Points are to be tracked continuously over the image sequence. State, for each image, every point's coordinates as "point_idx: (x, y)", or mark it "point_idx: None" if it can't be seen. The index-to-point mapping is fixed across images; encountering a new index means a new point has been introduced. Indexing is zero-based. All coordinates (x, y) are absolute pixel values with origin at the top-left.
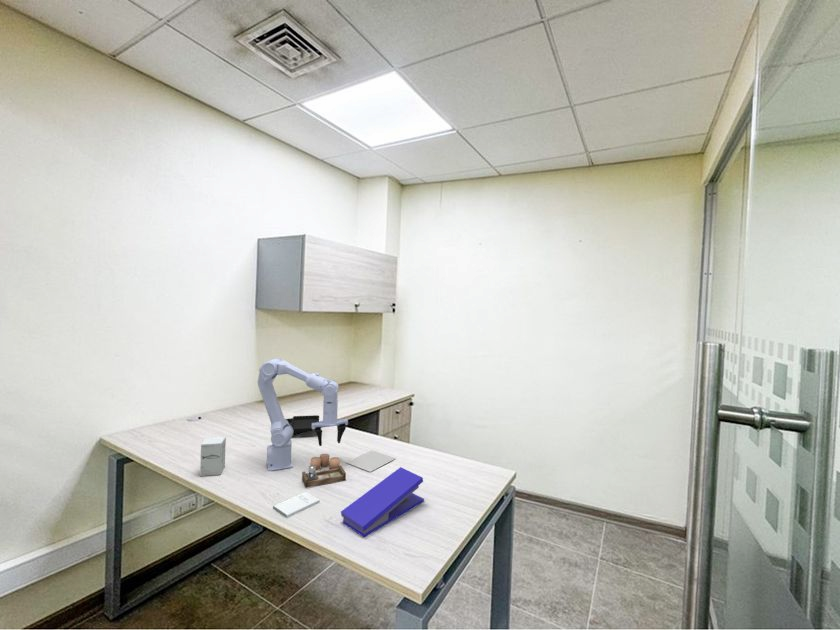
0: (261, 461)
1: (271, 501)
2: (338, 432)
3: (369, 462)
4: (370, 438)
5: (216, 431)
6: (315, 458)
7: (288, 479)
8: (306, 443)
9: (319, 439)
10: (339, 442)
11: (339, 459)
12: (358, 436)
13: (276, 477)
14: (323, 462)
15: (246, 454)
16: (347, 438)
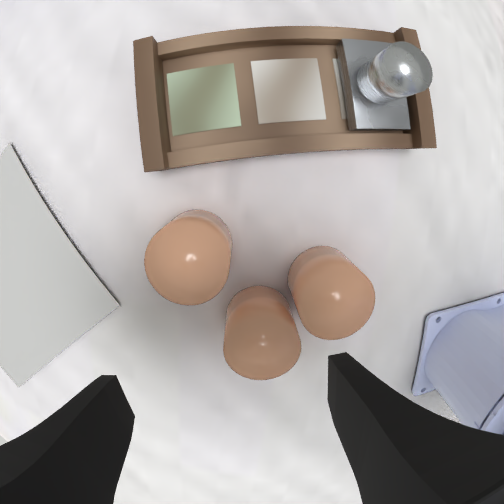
0: None
1: (495, 24)
2: (88, 490)
3: (6, 263)
4: None
5: None
6: (337, 314)
7: (464, 179)
8: (304, 500)
9: (399, 394)
10: (103, 378)
11: (145, 253)
12: None
13: (497, 222)
14: (270, 299)
15: None
16: (138, 500)
